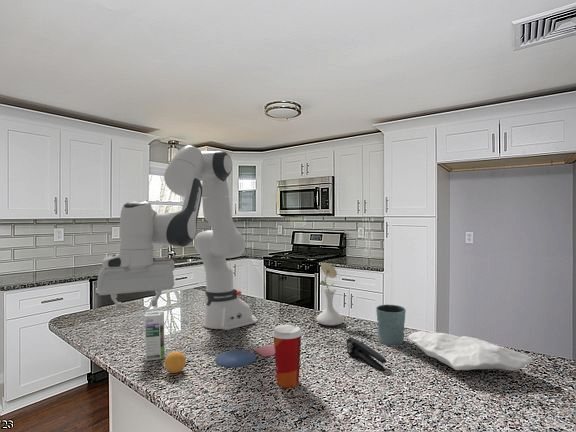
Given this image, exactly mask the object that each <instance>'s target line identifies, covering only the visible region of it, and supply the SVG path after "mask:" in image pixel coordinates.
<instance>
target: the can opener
mask: <svg viewBox="0 0 576 432" xmlns="http://www.w3.org/2000/svg"><path fill="white" fill-rule="evenodd" d="M346 348H347V349H346V353H347V355H348V356H350V357H351V356H352V357H360V358H361V359H363V360H364V361H365V362H366V363H368V364H369V365H370V366H371V367H373V368H374V369H377V370H378V371H381V372H383V371H385V370H386V368H385V367H384V366H383V365H382V364H386V363H387V359H385V358H384V357H383V356H382V355H381V354H380V353H378V352H377V351H376V350H375V349H373V348H372V347H370V346H369V345H367V344H366V343H364V341H362V340H358V339H356V338H354V337H352V336H350V337H348V338H347V339H346Z"/></svg>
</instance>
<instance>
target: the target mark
mask: <svg viewBox="0 0 576 432" xmlns="http://www.w3.org/2000/svg"><path fill="white" fill-rule="evenodd" d="M256 360H257V355H256V354H255V353H254V352H252V351H250V350H249V351H248V350H244V349H243V350H242V349H235V350H234V349H233V350H228V351H225V352H221V353H220V354H218V355H216V357H215V359H214V361H215V363H216V364H217V365H218V366H221V367H226V368H237V367H240V368H241V367H245V366H248V365H251V364H252V363H253V362H255V361H256Z"/></svg>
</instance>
